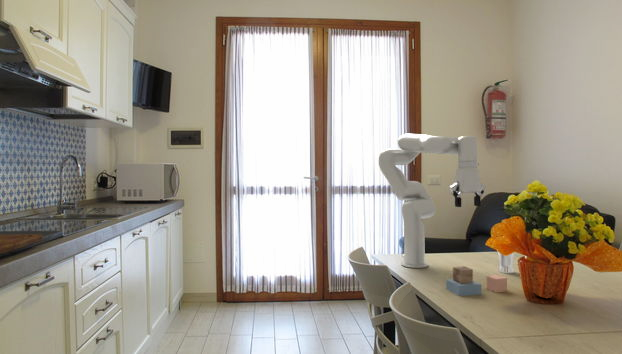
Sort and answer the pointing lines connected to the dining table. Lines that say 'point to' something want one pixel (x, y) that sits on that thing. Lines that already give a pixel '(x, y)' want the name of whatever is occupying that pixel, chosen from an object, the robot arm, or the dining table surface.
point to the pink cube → (496, 283)
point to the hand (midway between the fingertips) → (467, 206)
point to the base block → (463, 287)
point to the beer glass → (506, 263)
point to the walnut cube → (462, 275)
